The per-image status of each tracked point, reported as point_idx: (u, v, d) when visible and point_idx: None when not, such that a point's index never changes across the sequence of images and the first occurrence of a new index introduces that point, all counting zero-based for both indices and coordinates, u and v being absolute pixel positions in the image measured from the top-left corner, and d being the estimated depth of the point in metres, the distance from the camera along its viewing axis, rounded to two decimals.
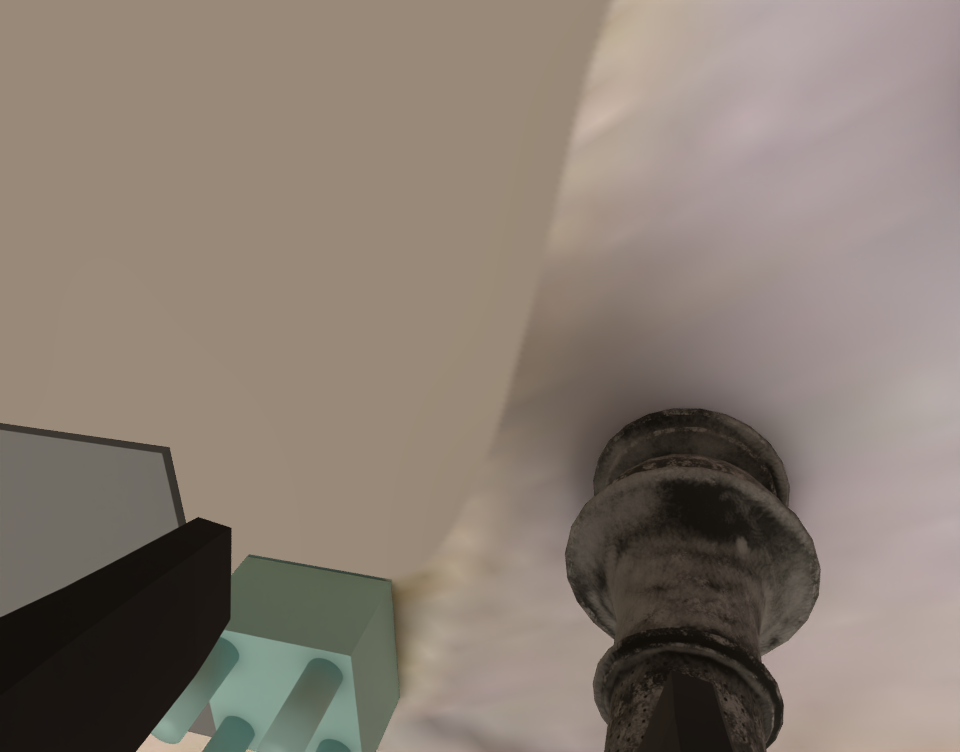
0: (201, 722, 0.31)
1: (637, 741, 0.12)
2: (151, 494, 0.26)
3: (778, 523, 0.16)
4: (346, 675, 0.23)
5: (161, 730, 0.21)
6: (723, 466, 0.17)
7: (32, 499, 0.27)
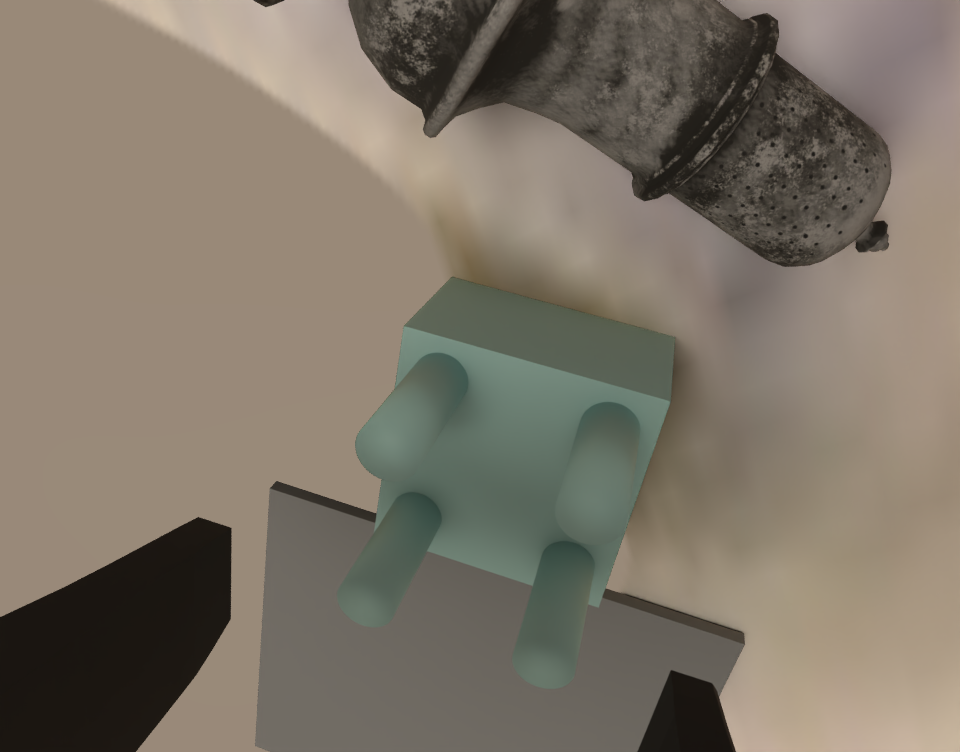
0: (702, 661, 0.20)
1: (745, 240, 0.14)
2: (323, 529, 0.22)
3: None
4: (442, 347, 0.15)
5: (369, 608, 0.14)
6: None
7: (341, 665, 0.24)
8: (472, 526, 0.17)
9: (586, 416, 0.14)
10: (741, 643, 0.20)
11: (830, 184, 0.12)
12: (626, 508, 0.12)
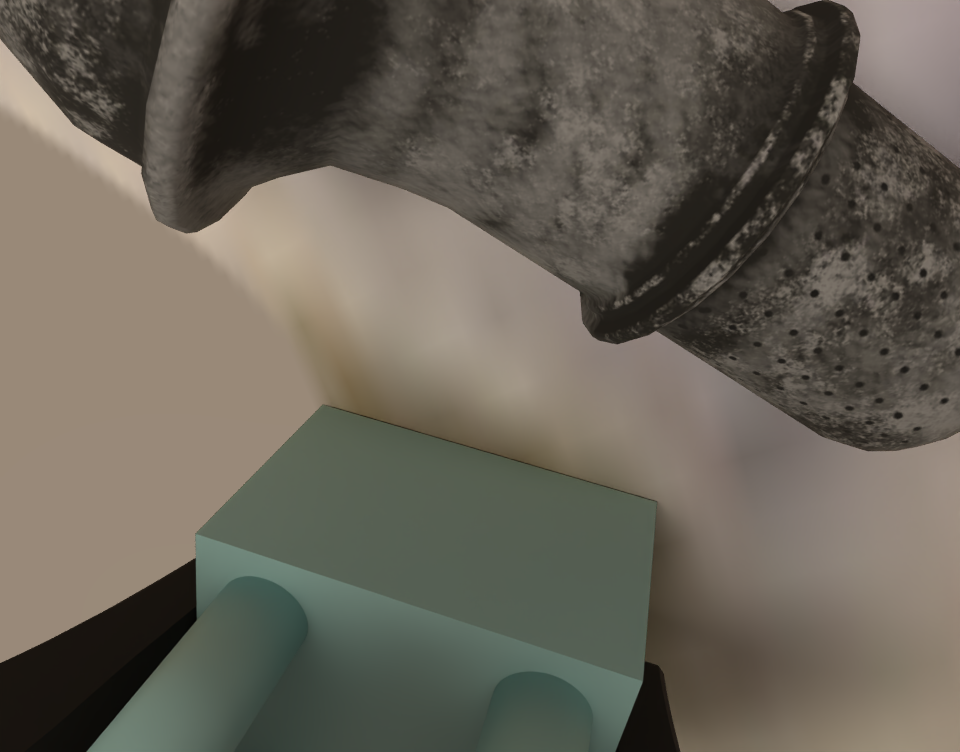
0: None
1: (780, 406, 0.08)
2: None
3: None
4: (260, 570, 0.09)
5: None
6: None
7: None
8: None
9: (498, 701, 0.08)
10: None
11: (953, 329, 0.06)
12: None
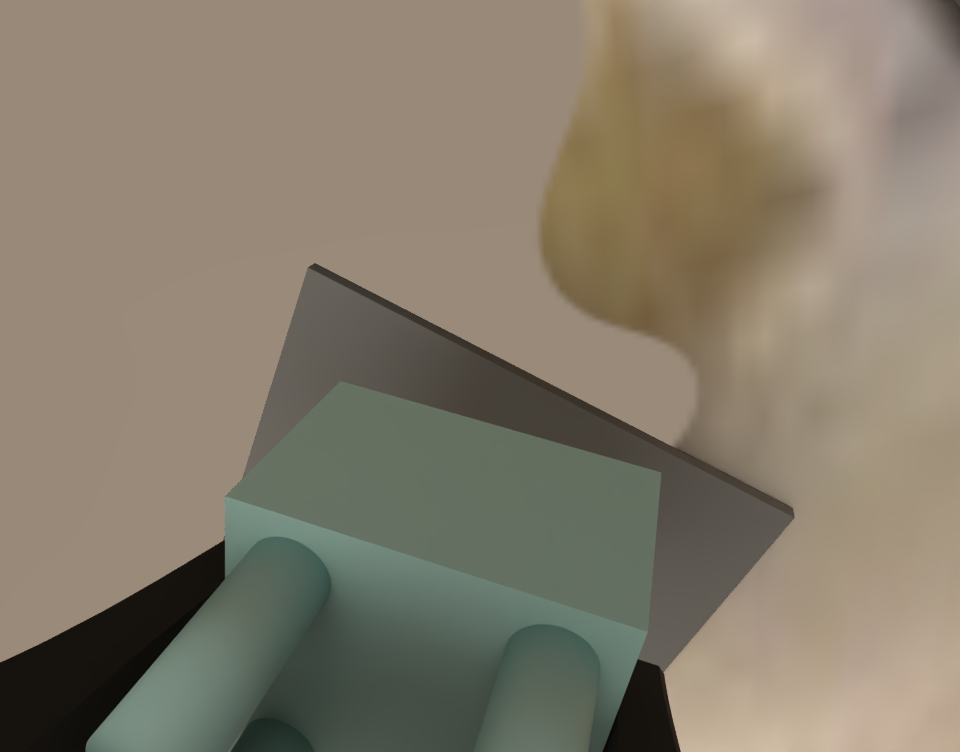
0: (742, 531, 0.19)
1: None
2: (359, 325, 0.20)
3: None
4: (286, 530, 0.09)
5: None
6: None
7: None
8: None
9: (511, 651, 0.09)
10: (790, 516, 0.19)
11: None
12: None
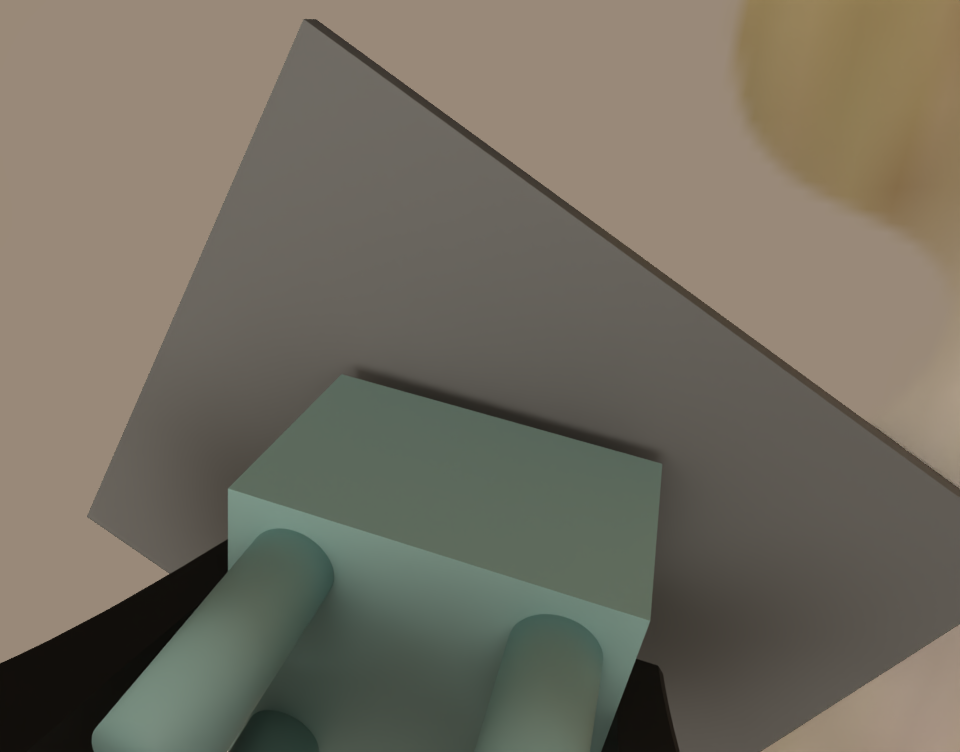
0: (954, 573, 0.12)
1: None
2: (378, 141, 0.11)
3: None
4: (289, 523, 0.09)
5: None
6: None
7: (296, 419, 0.14)
8: None
9: (514, 641, 0.09)
10: None
11: None
12: None
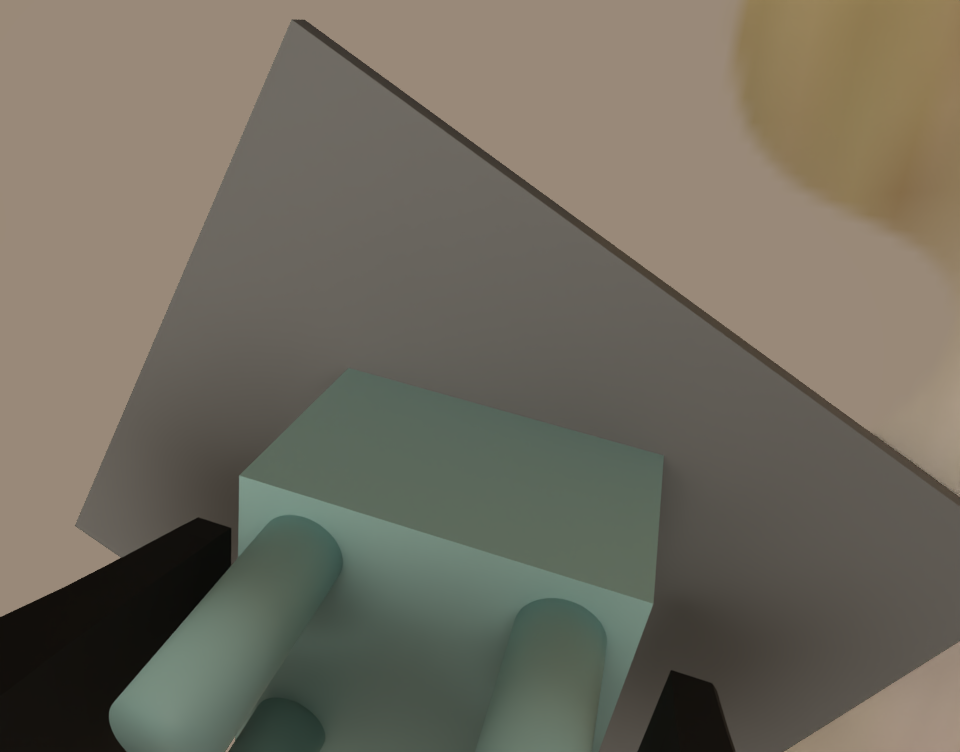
0: (959, 587, 0.12)
1: None
2: (368, 145, 0.11)
3: None
4: (299, 508, 0.10)
5: None
6: None
7: (286, 428, 0.14)
8: (369, 747, 0.11)
9: (520, 624, 0.09)
10: None
11: None
12: None
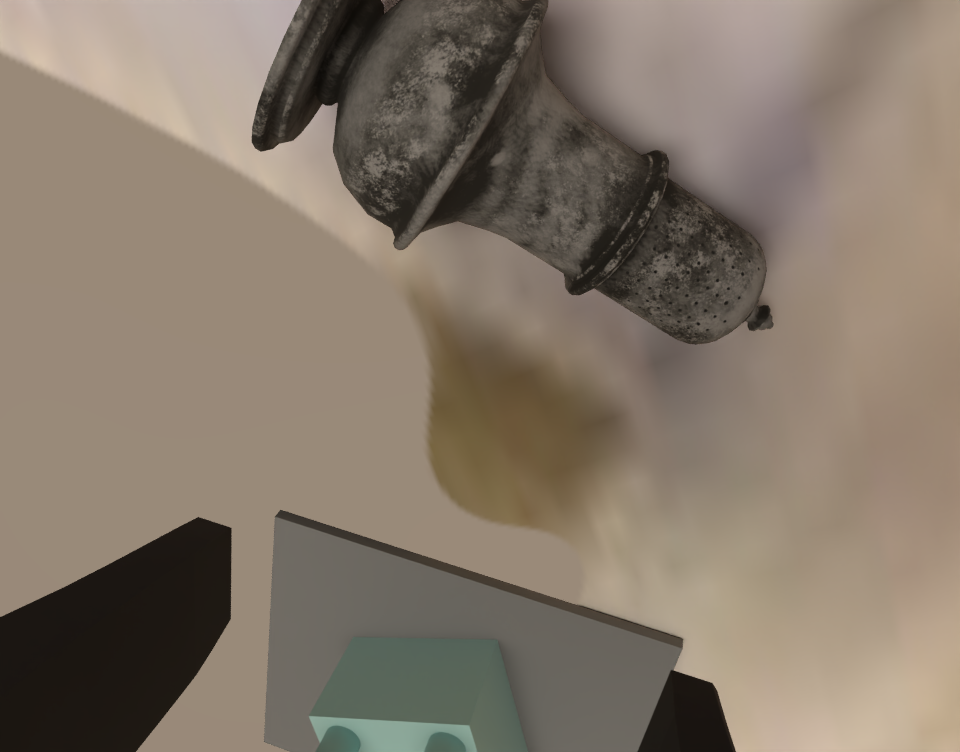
0: (647, 663, 0.24)
1: (655, 324, 0.17)
2: (321, 551, 0.25)
3: (487, 126, 0.13)
4: (334, 723, 0.23)
5: None
6: (398, 160, 0.13)
7: None
8: None
9: (425, 747, 0.22)
10: (679, 647, 0.23)
11: (713, 285, 0.16)
12: None
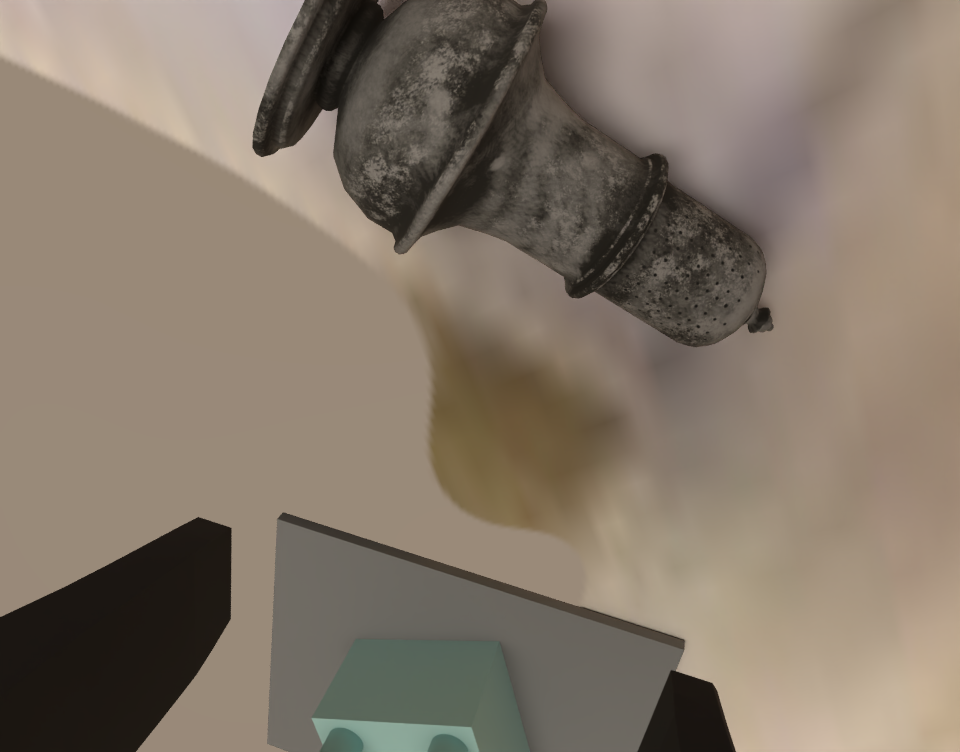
0: (649, 664, 0.24)
1: (654, 327, 0.17)
2: (323, 553, 0.25)
3: (486, 131, 0.13)
4: (337, 724, 0.23)
5: None
6: (398, 165, 0.14)
7: None
8: None
9: (428, 749, 0.22)
10: (681, 649, 0.23)
11: (713, 288, 0.16)
12: None
